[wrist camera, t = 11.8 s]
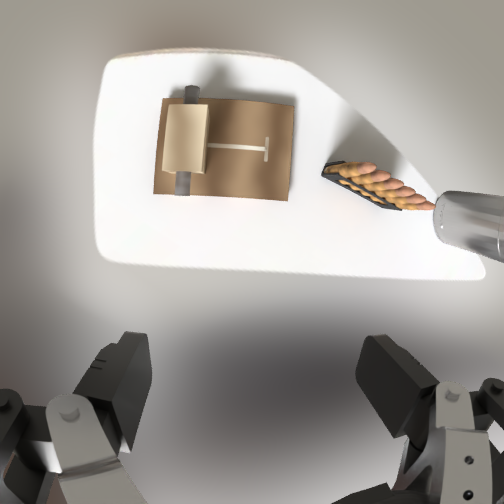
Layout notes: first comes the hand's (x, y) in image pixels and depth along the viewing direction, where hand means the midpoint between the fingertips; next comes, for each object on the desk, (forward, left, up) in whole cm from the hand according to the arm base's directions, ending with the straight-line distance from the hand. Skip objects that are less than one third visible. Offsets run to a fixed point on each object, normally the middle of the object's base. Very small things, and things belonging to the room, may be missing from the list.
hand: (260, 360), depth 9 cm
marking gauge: (+6, -11, -24) cm, 27 cm away
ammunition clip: (-16, -8, -26) cm, 32 cm away
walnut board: (+2, -11, -26) cm, 28 cm away
